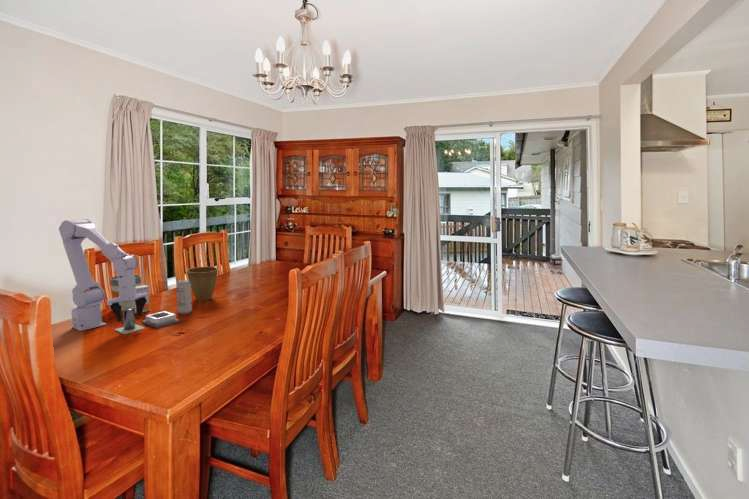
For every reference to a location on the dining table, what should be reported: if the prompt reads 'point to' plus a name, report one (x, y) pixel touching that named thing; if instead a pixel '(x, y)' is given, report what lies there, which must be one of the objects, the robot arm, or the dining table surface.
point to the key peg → (129, 318)
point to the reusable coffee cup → (116, 290)
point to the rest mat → (129, 330)
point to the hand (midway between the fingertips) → (129, 318)
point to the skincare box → (147, 305)
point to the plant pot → (203, 281)
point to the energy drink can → (184, 297)
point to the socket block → (160, 319)
